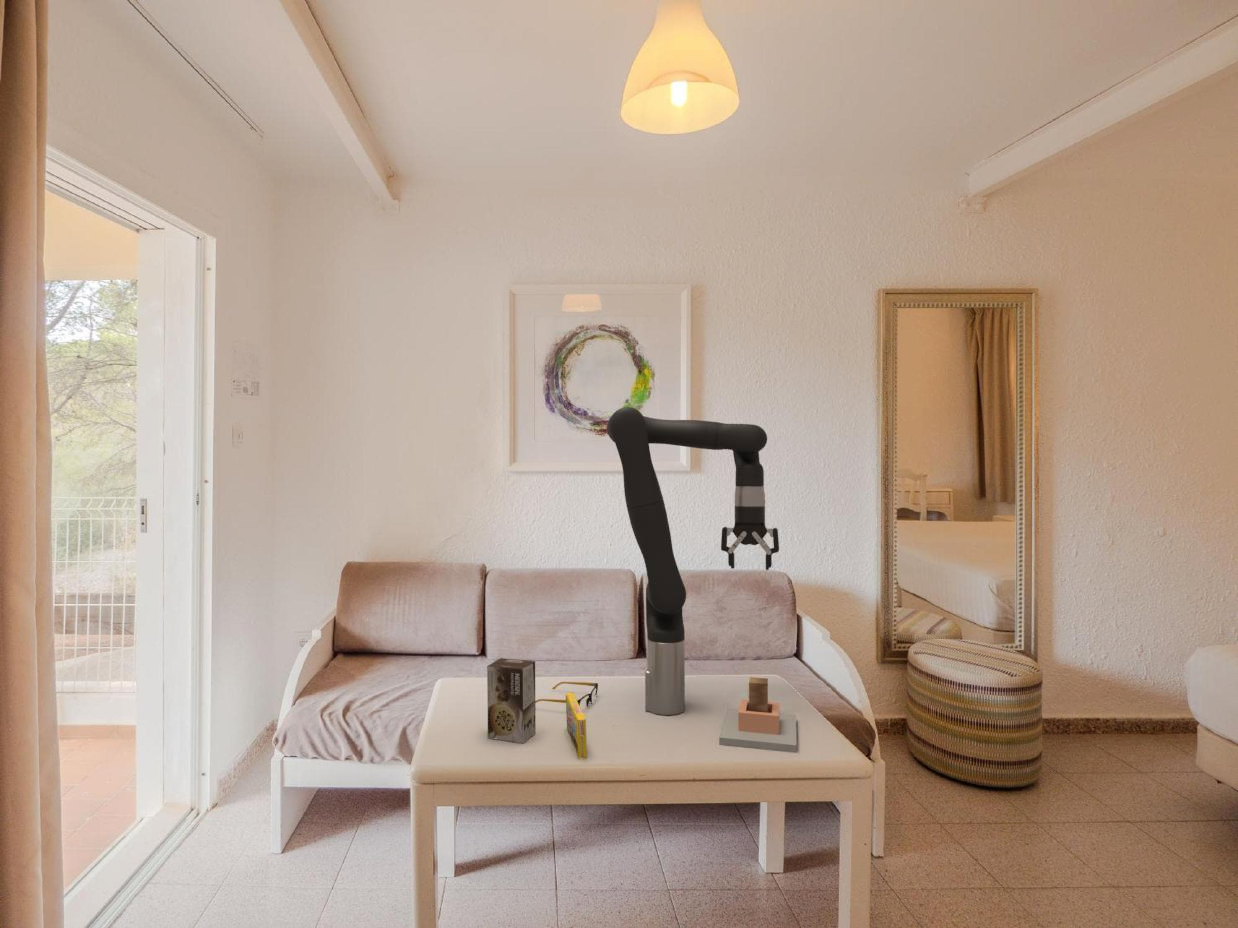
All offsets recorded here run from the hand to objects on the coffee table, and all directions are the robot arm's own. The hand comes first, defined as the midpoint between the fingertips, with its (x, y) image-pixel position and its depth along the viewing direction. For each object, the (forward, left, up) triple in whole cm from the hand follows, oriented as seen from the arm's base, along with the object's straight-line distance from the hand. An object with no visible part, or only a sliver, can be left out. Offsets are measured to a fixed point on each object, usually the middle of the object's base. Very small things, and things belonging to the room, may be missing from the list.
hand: (750, 568), depth 164 cm
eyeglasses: (-46, -10, -35) cm, 58 cm away
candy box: (-35, -33, -34) cm, 59 cm away
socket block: (+3, -17, -34) cm, 38 cm away
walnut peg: (+3, -17, -33) cm, 37 cm away
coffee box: (-50, -33, -34) cm, 69 cm away
